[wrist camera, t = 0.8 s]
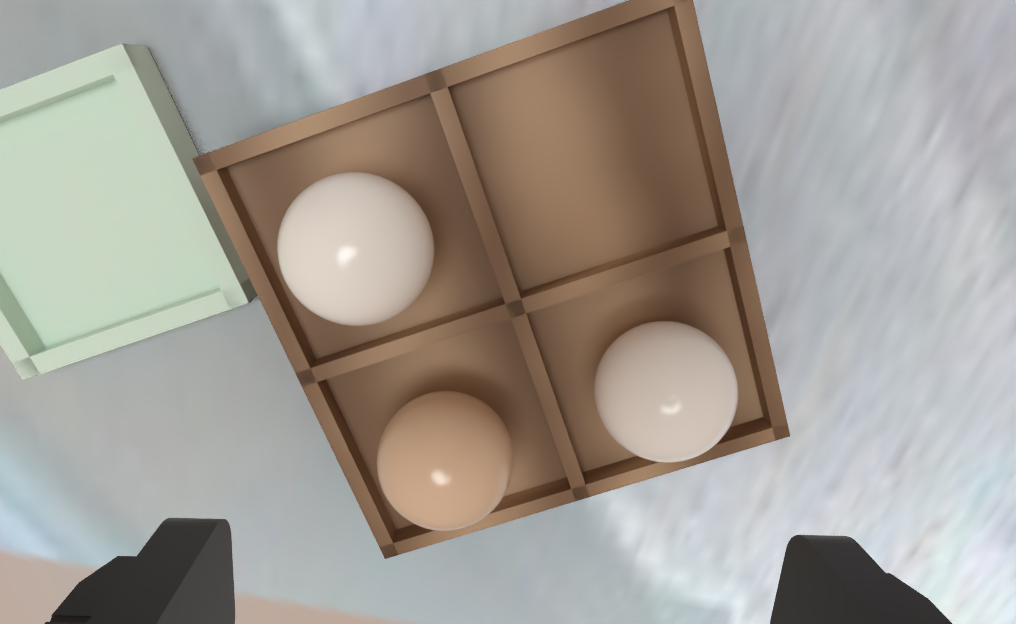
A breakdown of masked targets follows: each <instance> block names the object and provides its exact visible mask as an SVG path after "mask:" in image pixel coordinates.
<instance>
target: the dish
mask: <svg viewBox="0 0 1016 624" xmlns="http://www.w3.org/2000/svg"><path fill="white" fill-rule="evenodd" d="M198 156H199V153H198V151H197V149H196V147H195V145H194V143H193V141H192V139H191V137H190V135H189V133H188V130H187V128H186V126H185V124H184V122H183V120H182V118H181V116H180V114H179V112H178V110H177V107H176V105H175V103H174V101H173V99H172V97H171V95H170V93H169V91H168V89H167V87H166V84H165V82H164V80H163V78H162V76H161V74H160V72H159V70H158V68H157V66H156V64H155V61H154V59H153V57H152V55H151V53H150V51H149V49H148V47H144V46H137V45H129V44H119V45H117V46H114V47H111V48H109V49H106V50H103V51H101V52H98V53H96V54H93V55H90V56H88V57H85V58H82V59H80V60H77V61H74V62H72V63H69V64H67V65H64V66H61V67H59V68H56V69H53V70H51V71H48V72H45V73H43V74H40V75H38V76H35V77H32V78H30V79H27V80H24V81H22V82H19V83H16V84H14V85H11V86H9V87H6V88H3V89H1V90H0V345H1V346H2V348H3V350H4V351H5V353H6V354H7V356H8V358H9V359H10V361H11V362H12V364H13V365H14V367H15V369H16V370H17V372H18V373H19V375H20V377H21V378H22V380H24V379H27V378H30V377H33V376H36V375H39V374H42V373H45V372H48V371H51V370H54V369H57V368H60V367H63V366H66V365H68V364H71V363H74V362H77V361H80V360H83V359H86V358H89V357H92V356H95V355H98V354H101V353H104V352H107V351H110V350H112V349H115V348H118V347H121V346H124V345H127V344H130V343H133V342H136V341H139V340H142V339H145V338H148V337H151V336H154V335H157V334H159V333H162V332H165V331H168V330H171V329H174V328H177V327H180V326H183V325H186V324H189V323H192V322H195V321H198V320H201V319H203V318H206V317H209V316H212V315H215V314H218V313H221V312H224V311H227V310H230V309H233V308H236V307H239V306H242V305H245V304H248V303H250V302H251V301H252V300H253V299H254V298H255V297H256V296H258V294H257V292H256V290H255V288H254V286H253V284H252V282H251V280H250V278H249V276H248V274H247V272H246V270H245V267H244V265H243V263H242V261H241V259H240V257H239V255H238V253H237V251H236V249H235V247H234V245H233V243H232V241H231V238H230V236H229V234H228V232H227V230H226V228H225V226H224V224H223V222H222V220H221V218H220V216H219V214H218V212H217V209H216V207H215V205H214V203H213V201H212V199H211V197H210V195H209V193H208V191H207V189H206V187H205V185H204V183H203V180H202V178H201V176H200V174H199V172H198V170H197V168H196V166H195V164H194V162H193V160H192V158H195V157H198Z"/></svg>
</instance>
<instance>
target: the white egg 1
mask: <svg viewBox="0 0 1016 624" xmlns="http://www.w3.org/2000/svg"><path fill="white" fill-rule="evenodd" d="M277 253H278V261H279V265H280V269H281V272H282V275H283V278H284V280H285V282H286V284H287V286H288V287H289V289H290V290H291V292H292V293H293V295H294V296H295V297H296V298H297V299H298V300H299V301H300V303H301V304H303V305H304V306H305V307H306V308H307V309H308V310H310V311H311V312H313V313H314V314H316V315H318V316H320V317H322V318H324V319H326V320H329V321H331V322H334V323H338V324H342V325H350V326H365V325H372V324H377V323H380V322H384V321H386V320H389V319H391V318H393V317H395V316H396V315H398V314H400V313H401V312H403V311H404V310H405V309H407V308H408V307H409V306H410V305H411V304H412V303H413V302H414V301H415V300H416V299H417V298H418V296H419V295H420V294H421V293H422V291H423V289H424V287H425V286H426V284H427V282H428V280H429V277H430V274H431V271H432V267H433V262H434V239H433V233H432V230H431V227H430V224H429V221H428V219H427V217H426V215H425V213H424V211H423V210H422V208H421V207H420V205H419V204H418V203H417V202H416V200H415V199H414V198H413V197H412V196H411V195H410V194H409V193H408V192H407V191H406V190H404V189H403V188H401V187H400V186H399V185H397V184H395V183H394V182H392V181H390V180H388V179H386V178H383V177H381V176H378V175H374V174H370V173H363V172H346V173H339V174H335V175H331V176H328V177H325V178H323V179H321V180H318V181H316V182H315V183H313V184H312V185H310V186H309V187H307V188H306V189H305V190H304V191H303V192H301V193H300V194H299V195H298V196H297V197H296V198H295V200H294V201H293V202H292V203H291V205H290V206H289V208H288V209H287V211H286V213H285V215H284V218H283V220H282V223H281V226H280V229H279V234H278V240H277Z"/></svg>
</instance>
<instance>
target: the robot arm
mask: <svg viewBox="0 0 1016 624" xmlns="http://www.w3.org/2000/svg"><path fill="white" fill-rule="evenodd" d="M45 624H235V600H234V580H233V561H232V541H231V530H230V525H229V523H228V521H227V520H226V519H195V518H168V519H166V520H164V521H163V522H162V524H161V525H160V526H159V527H158V529H157V530H156V531H155V533H154V534H153V535H152V537H151V538H150V539H149V541H148V542H147V543H146V545H145V546H144V547H143V549H142V550H141V551H140V553H139V554H138V555H137V557H136V556H117V557H116V558H114V559H113V560H112V561H110V562H109V563H107V564H106V565H104V566H103V567H101V568H100V569H98V570H97V571H95V572H94V573H93V574H91V575H89V576H88V577H87V578H85V579H84V580H82V581H81V582H79V583H78V584H77V586H76V587H75V588H74V589H73V590H72V592H71V593H70V594H69V595H68V596H67V597H66V599H65V600H64V601H63V602H62V603H61V605H60V606H59V607H58V609H57V610H56V611H55V612H54V613H53V614H52V618H51V621H50V622H46V623H45ZM770 624H952V623H951V622H950V621H949V620H948V619H947V618H946V617H945V616H944V615H943V614H942V613H941V612H940V611H939V609H938V608H937V607H936V606H935V605H934V604H933V603H932V602H931V601H930V600H929V599H928V598H926V597H925V596H923V595H922V594H920V593H919V592H917V591H916V590H914V589H913V588H911V587H910V586H908V585H907V584H905V583H904V582H902V581H901V580H899V579H898V578H896V577H895V576H893V575H892V574H890V573H885V572H884V571H883V570H882V569H881V568H880V567H879V565H878V564H877V563H876V562H875V561H874V560H873V559H872V558H871V557H870V556H869V555H868V554H867V553H866V551H865V550H864V549H863V548H862V547H861V546H860V545H859V544H858V543H857V542H856V541H855V540H854V539H852V538H850V537H847V536H818V535H796V536H794V537H792V538H791V540H790V541H789V543H788V545H787V548H786V552H785V557H784V561H783V566H782V570H781V575H780V580H779V584H778V589H777V593H776V598H775V602H774V607H773V611H772V616H771V621H770Z"/></svg>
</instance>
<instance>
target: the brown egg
mask: <svg viewBox="0 0 1016 624" xmlns="http://www.w3.org/2000/svg"><path fill="white" fill-rule="evenodd" d="M513 468H514V451H513V445H512V441H511V437H510V434H509V432H508V430H507V428H506V426H505V424H504V422H503V421H502V419H501V418H500V416H499V415H498V414H497V413H496V412H495V411H494V410H493V409H492V408H491V407H490V406H489V405H488V404H486V403H485V402H483V401H482V400H480V399H478V398H476V397H474V396H472V395H469V394H466V393H462V392H457V391H436V392H431V393H427V394H424V395H422V396H419V397H417V398H415V399H413V400H411V401H410V402H408V403H407V404H406V405H404V406H403V407H402V408H401V409H400V410H398V411H397V412H396V414H395V415H394V416H393V417H392V418H391V420H390V421H389V422H388V424H387V426H386V428H385V429H384V432H383V434H382V436H381V439H380V442H379V446H378V451H377V474H378V478H379V482H380V485H381V488H382V490H383V493H384V495H385V496H386V498H387V500H388V501H389V503H390V504H391V505H392V507H393V508H394V509H395V510H396V511H397V512H398V513H399V514H400V515H401V516H403V517H404V518H405V519H407V520H408V521H410V522H412V523H413V524H416V525H418V526H420V527H423V528H426V529H431V530H437V531H451V530H457V529H461V528H465V527H467V526H470V525H473V524H474V523H476V522H478V521H480V520H482V519H483V518H484V517H486V516H487V515H488V514H489V513H490V512H491V511H493V510H494V509H495V507H496V506H497V505H498V504H499V503H500V501H501V500H502V498H503V497H504V495H505V493H506V491H507V489H508V487H509V484H510V481H511V478H512V474H513Z"/></svg>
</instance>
